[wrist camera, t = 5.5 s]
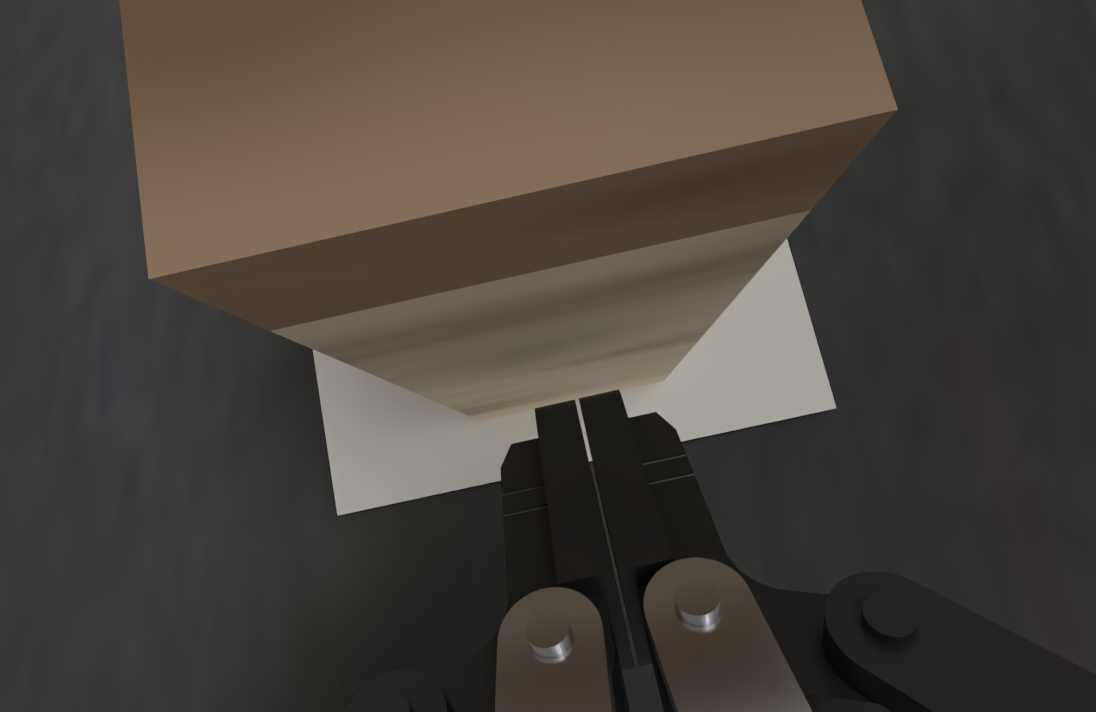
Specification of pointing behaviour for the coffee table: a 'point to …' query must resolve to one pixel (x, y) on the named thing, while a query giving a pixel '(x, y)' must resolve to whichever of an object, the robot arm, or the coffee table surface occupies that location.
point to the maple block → (490, 174)
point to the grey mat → (681, 399)
